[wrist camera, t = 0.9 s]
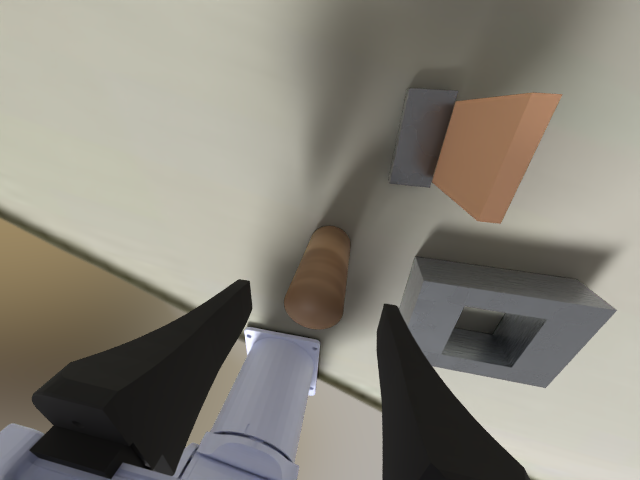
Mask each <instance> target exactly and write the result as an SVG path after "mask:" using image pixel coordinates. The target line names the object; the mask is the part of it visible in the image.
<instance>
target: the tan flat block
mask: <svg viewBox="0 0 640 480" xmlns="http://www.w3.org/2000/svg"><path fill="white" fill-rule="evenodd" d="M561 96H562V94H547V93H524V94H516V95H507V96H498V97H489V98H481V99H472V100H463V101H456V102H455V106H454V109H453V112H452V116H451V119H450V123H449V126H448V129H447V133H446V136H445V139H444V143H443V146H442V150H441V153H440V156H439V160H438V163H437V167H436V170H435V173H434V177H433V180H432V183H434V184H435V185H436V186H437V187H438V188H439V189H441V190H442V191H443V192H444V193H445V194H446V195H448V196H449V197H450V198H451V199H452V200H453V201H455V202H456V203H457V204H458V205H459V206H461V207H462V208H463V209H464V210H465V211H466V212H468V213H469V214H470V215H471V216H472V217H473V218H475V219H476V220H477V221H480V222H490V223H500V224H501V222H502V220H503V218H504V216H505V213H506V211H507V209H508V207H509V205H510V203H511V201H512V199H513V197H514V195H515V193H516V190H517V188H518V186H519V184H520V182H521V180H522V178H523V176H524V174H525V172H526V170H527V167H528V165H529V163H530V161H531V159H532V157H533V155H534V153H535V151H536V149H537V147H538V144H539V142H540V140H541V138H542V136H543V134H544V132H545V130H546V128H547V126H548V123H549V121H550V119H551V117H552V115H553V113H554V111H555V109H556V107H557V105H558V103H559V100H560V98H561Z"/></svg>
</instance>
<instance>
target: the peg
mask: <svg viewBox="0 0 640 480" xmlns="http://www.w3.org/2000/svg"><path fill="white" fill-rule="evenodd" d="M350 248H351V242H350V239H349V237H348V235H347V234H346V233H345V232H344V231H343V230H342V229H340V228H338V227H335V226H324V227H321V228H319V229H317V230H316V231H315V232H314V233H313V235H312V237H311V239H310V241H309V244H308V246H307V248H306V250H305V253H304V255H303V257H302V259H301V262H300V264H299V266H298V268H297V271H296V273H295V275H294V277H293V280H292V282H291V284H290V287H289V289H288V291H287V293H286V296H285V298H284V307H285V310H286V312H287V314H288V315H289V316H290V317H291V318H292V319H293V320H294V321H295V322H296V323H298V324H300V325H302V326H304V327H307V328H311V329H326V328H330V327H332V326H334V325H336V324H337V323H338V322H339V321H340V319H341V318H342V315H343V309H344V300H345V292H346V283H347V274H348V265H349V256H350Z"/></svg>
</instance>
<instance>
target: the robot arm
mask: <svg viewBox="0 0 640 480" xmlns="http://www.w3.org/2000/svg"><path fill="white" fill-rule="evenodd" d="M251 311H252V299H251V289H250V281H247V280H241V279H239V280H237V281H236V282H234V283H233V284H231V285H230V286H228V287H227V288H226V289H224V290H223V291H221V292H220V293H218V294H217V295H215V296H214V297H212V298H211V299H209V300H208V301H207V302H205V303H203V304H202V305H200V306H199V307H197V308H195V309H194V310H192V311H190V312H189V313H187V314H186V315H184V316H182V317H180V318H178V319H177V320H175V321H173V322H171V323H169V324H167V325H165V326H163V327H161V328H159V329H157V330H155V331H153V332H150V333H148V334H146V335H144V336H142V337H139V338H137V339H135V340H132V341H130V342H127V343H125V344H122V345H120V346H117V347H114V348H112V349H109V350H106V351H104V352H101V353H98V354H95V355H92V356H89V357H86V358H83V359H80V360H77V361H73V362H70V363H69V364H68V365H67V366H65V367H64V368H63V369H62V370H61V371H60V372H58V373H57V374H56V375H55V376H54V377H52V378H51V379H50V380H49V381H48V382H47V383H45V384H44V385H43V386H42V387H41V388H39V389H38V390H37V391H36V392H35V393H34V394H33V396H32V402H33V404H34V405H35V407H36V408H37V409H38V410H39V411H40V412H41V413H42V414H43V415H44V416H45V417H46V418H47V419H48V420H49V421H50V422H51V423H52V424H53V425H54V426H53V427H52V428H51V429H50V430H49V431H48V432H47V433H46V434H44V433H42V432H40V431H38V430H35V429H32V428H28V427H25V426H21V425H18V424H14V423H12V424H9V425H8V426H6V427H5V428H4V429H3V430H2V431H1V432H0V480H297V476H298V471H299V465H296V464H294V462H295V457H296V452H297V447H298V442H299V438H300V433H301V427H302V423H303V418H304V413H305V408H306V403H307V398H308V395H311V396H312V395H315V391H316V382H317V372H318V362H319V351H320V342H319V341H318V340H316V339H311V338H305V337H300V336H295V335H290V334H284V333H279V332H274V331H269V330H263V329H258V328H253V327H247V328H246V329H245V331H244V333H245V340H246V348H247V358H246V360H245V362H244V364H243V366H242V368H241V370H240V372H239V374H238V376H237V378H236V380H235V382H234V384H233V386H232V388H231V390H230V392H229V394H228V396H227V399H226V401H225V403H224V405H223V407H222V409H221V411H220V413H219V415H218V417H217V419H216V421H215V423H214V425H213V427H212V429H211V431H210V432H206V433H205V435H204V437H203V439H202V441H201V443H200V445H198V444H196V443H191V444H190V445H188V446H187V447H186V448H185V446H186V443H187V441H188V438H189V436H190V433H191V431H192V429H193V426H194V424H195V421H196V419H197V417H198V414H199V412H200V410H201V408H202V406H203V403H204V401H205V399H206V397H207V394H208V392H209V390H210V388H211V386H212V384H213V382H214V380H215V378H216V375H217V373H218V371H219V369H220V368H221V366H222V364H223V362H224V361H225V359H226V357H227V355H228V354H229V352H230V351H231V349H232V347H233V345H234V344H235V342H236V341H237V339H238V337H239V335H240V334H241V332H242V330H243V329H244V327H245V325H246V323H247V320H248V318H249V316H250V313H251ZM377 359H378V369H379V379H380V388H381V398H382V425H383V427H382V429H383V480H530V478H529V477H528V475H527V473H526V471H525V469H524V467H523V466H522V465H521V464H520V463H519V462H518V461H517V460H515V459H514V458H513V457H512V456H511V455H510V454H509V453H508V452H507V451H506V450H505V449H504V448H503V447H502V446H501V445H500V444H499V443H498V442H497V441H496V440H495V439H494V438H493V437H492V436H491V435H490V434H489V433H488V432H487V431H486V430H485V429H484V428H483V427H482V426H481V425H480V424H479V423H478V422H477V421H476V420H475V419H474V417H473V416H472V415H471V414H470V413H469V412H468V411H467V409H466V408H465V407H464V406H463V405H462V404H461V403H460V401H459V400H458V399H457V398H456V397H455V396H454V394H453V393H452V392H451V391H450V389H449V388H448V387H447V386H446V384H445V383H444V382H443V380H442V379H441V378H440V376H439V375H438V374H437V372H436V371H435V370H434V368H433V367H432V365H431V364H430V362H429V361H428V359H427V358H426V356H425V355H424V353H423V352H422V350H421V349H420V347H419V345H418V344H417V342H416V340H415V339H414V337H413V335H412V333H411V332H410V330H409V328H408V326H407V324H406V322H405V321H404V319H403V317H402V315H401V312H400V310H399V308H398V307H397V306H396V305H390V304H384V306H383V310H382V314H381V318H380V321H379V325H378V329H377Z"/></svg>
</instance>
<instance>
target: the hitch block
mask: <svg viewBox="0 0 640 480" xmlns="http://www.w3.org/2000/svg"><path fill="white" fill-rule="evenodd" d="M464 306H467V307H474V308H480V309H486V310H492V311H498V312H505V313H506V314H505V315H504V317H503V318H502V320H501V322H500V323H499V325H498V327H497V328H496V330H495V332H494V333H493V335H492V334H486V333H481V332H475V331H469V330H463V329H457V328H454V327H455V325H456V323H457V321H458V318H459V316H460V314H461V312H462V310H463V308H464ZM399 310H400V312H401V315H402V317H403V319H404V321H405V322H406V324H407V326H408V328H409V330H410V332H411V333H412V335H413V337H414V339H415V340H416V342H417V344H418V345H419V347H420V349H421V350H422V352H423V353H424V355H425V356H426V358H427V359H428V361H429V362H430V364H431V365H432V366H434V367H440V368H445V369H450V370H455V371H460V372H466V373H471V374H476V375H481V376H486V377H491V378H497V379H502V380H507V381H512V382H517V383H523V384H528V385H533V386H538V387H543V388H546V387H547V386H548V385H549V384H550V383H551V382H552V380H553V379H554V378H555V377H556V376H557V375H558V374H559V373H560V372H561V371H562V370H563V368H564V367H565V366H566V365H567V364H568V363H569V362H570V361H571V360H572V359H573V358H574V357H575V355H576V354H577V353H578V352H579V351H580V350H581V349H582V348H583V347H584V346H585V345H586V343H587V342H588V341H589V340H590V339H591V338H592V337H593V336H594V335H595V334H596V333H597V332H598V330H599V329H600V328H601V327H602V326H603V325H604V324H605V323H606V322H607V321H608V320H609V318H610V317H611V316H612V315H613V314H614V313H615V312H616V311H617V310H616V309H615V308H613V307H612V306H611V305H609V304H608V303H607V302H606V301H604V300H603V299H602V298H600V297H599V296H598V295H597V294H595V293H594V292H593V291H592V290H590V289H589V288H588V287H586V286H585V285H584V284H583V283H581V282H580V281H579V280H577V279H571V278H564V277H557V276H550V275H543V274H536V273H529V272H522V271H515V270H508V269H501V268H493V267H486V266H479V265H472V264H465V263H458V262H451V261H444V260H437V259H430V258H423V257H415V259H414V262H413V265H412V269H411V272H410V275H409V278H408V282H407V285H406V288H405V291H404V295H403V298H402V301H401V304H400V308H399Z"/></svg>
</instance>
